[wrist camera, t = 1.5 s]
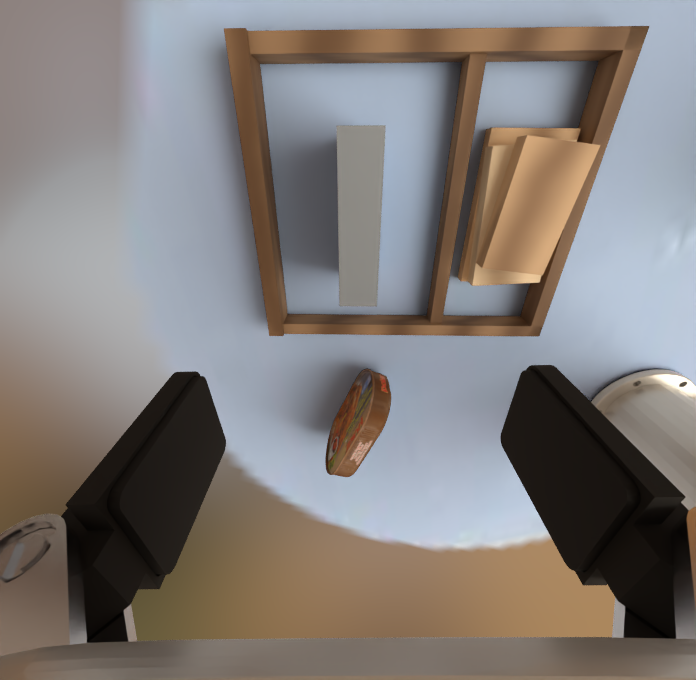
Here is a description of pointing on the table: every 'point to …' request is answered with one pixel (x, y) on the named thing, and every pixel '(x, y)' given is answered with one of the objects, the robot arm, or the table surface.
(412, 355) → the table surface
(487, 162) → the offcut stack
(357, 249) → the grey rectangular block
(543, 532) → the table surface
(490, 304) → the table surface
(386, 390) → the tin
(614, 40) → the rack
